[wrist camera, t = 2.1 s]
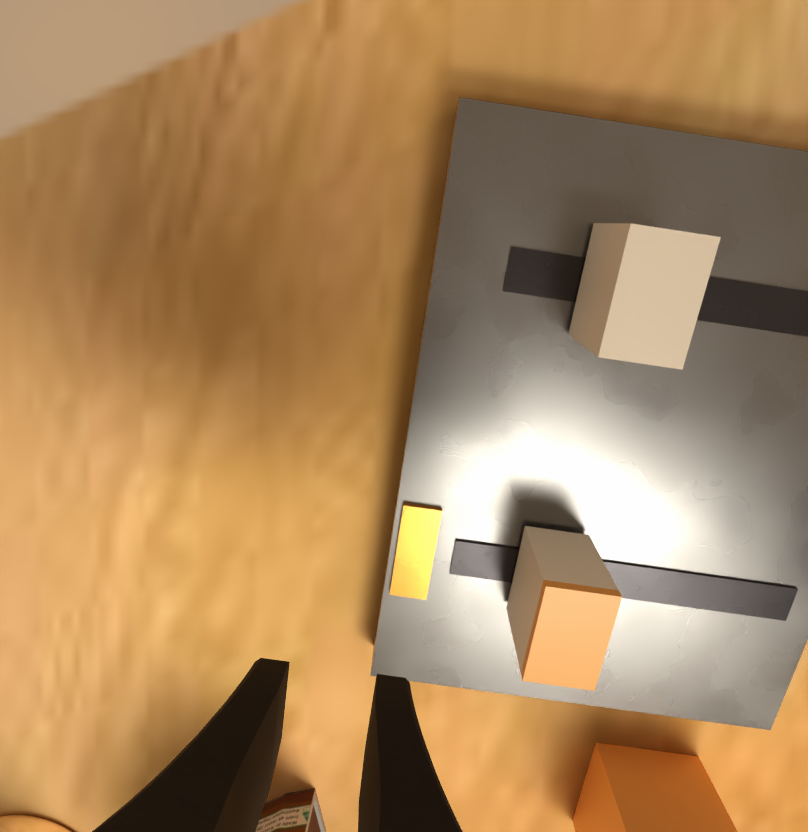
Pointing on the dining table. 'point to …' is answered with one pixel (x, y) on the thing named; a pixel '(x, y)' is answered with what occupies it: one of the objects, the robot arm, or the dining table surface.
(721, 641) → the panel
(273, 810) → the food container
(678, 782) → the block
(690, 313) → the block
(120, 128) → the dining table surface
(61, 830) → the beer glass
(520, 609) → the block
